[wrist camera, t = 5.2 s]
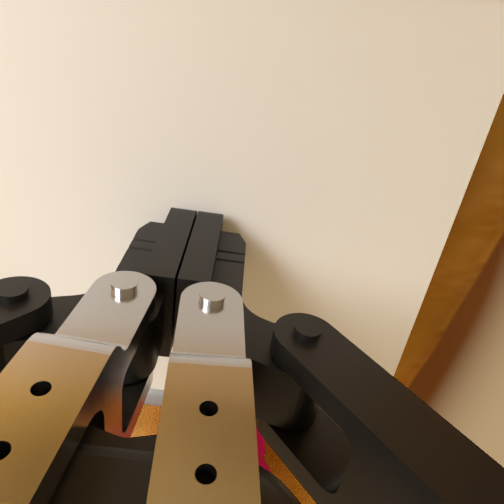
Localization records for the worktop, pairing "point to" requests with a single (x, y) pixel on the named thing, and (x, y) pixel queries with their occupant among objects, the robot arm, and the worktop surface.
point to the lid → (249, 143)
